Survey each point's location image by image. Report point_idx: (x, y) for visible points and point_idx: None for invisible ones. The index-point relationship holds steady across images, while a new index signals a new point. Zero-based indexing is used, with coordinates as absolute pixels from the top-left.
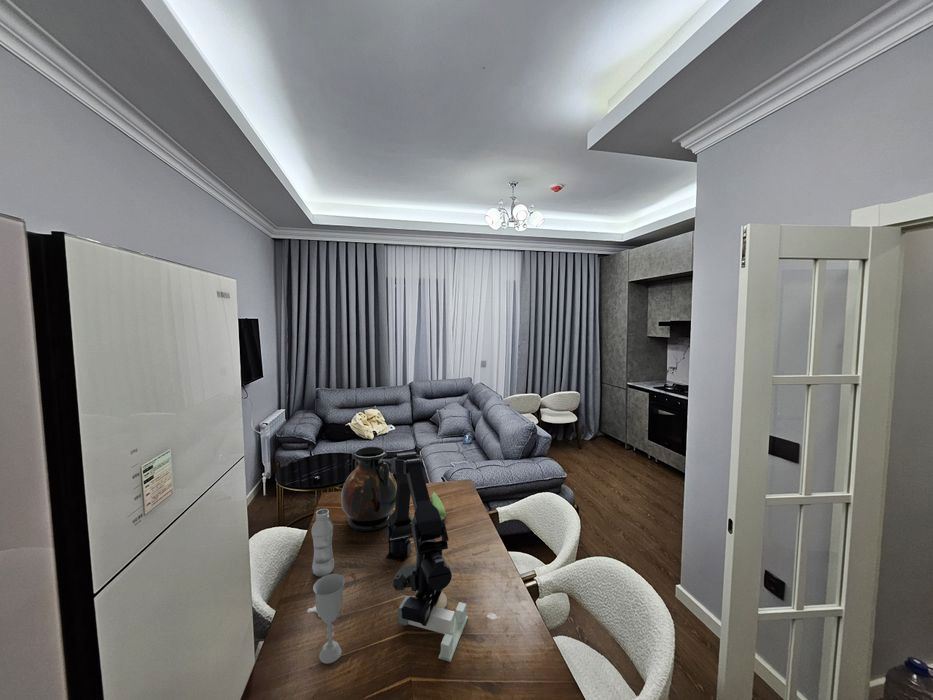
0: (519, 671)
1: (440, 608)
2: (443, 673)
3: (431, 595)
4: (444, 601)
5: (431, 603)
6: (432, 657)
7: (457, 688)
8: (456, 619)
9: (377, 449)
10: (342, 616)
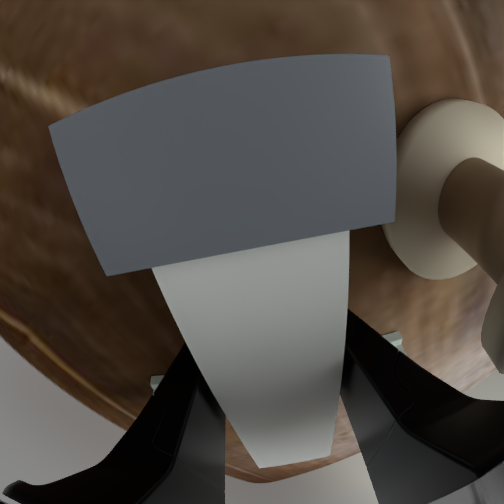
0: (254, 464)
1: (328, 428)
2: (123, 397)
3: (385, 458)
4: (462, 265)
5: (352, 398)
6: (137, 359)
7: (123, 424)
8: None
9: None
10: None
